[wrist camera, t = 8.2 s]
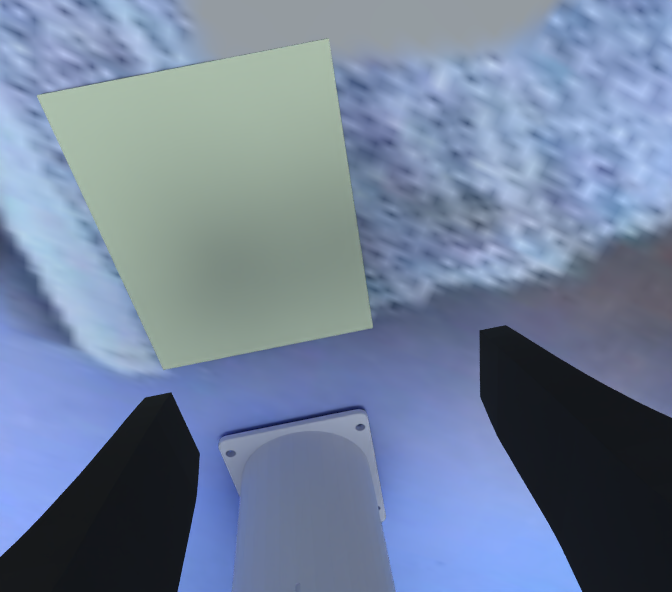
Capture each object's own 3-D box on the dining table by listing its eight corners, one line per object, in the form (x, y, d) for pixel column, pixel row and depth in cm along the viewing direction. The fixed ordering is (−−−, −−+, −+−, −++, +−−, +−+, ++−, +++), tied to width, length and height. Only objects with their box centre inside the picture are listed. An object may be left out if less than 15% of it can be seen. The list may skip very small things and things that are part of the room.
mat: (371, 323, 22) (373, 327, 21) (165, 364, 22) (163, 369, 21) (327, 38, 16) (328, 38, 15) (42, 94, 16) (36, 95, 15)
